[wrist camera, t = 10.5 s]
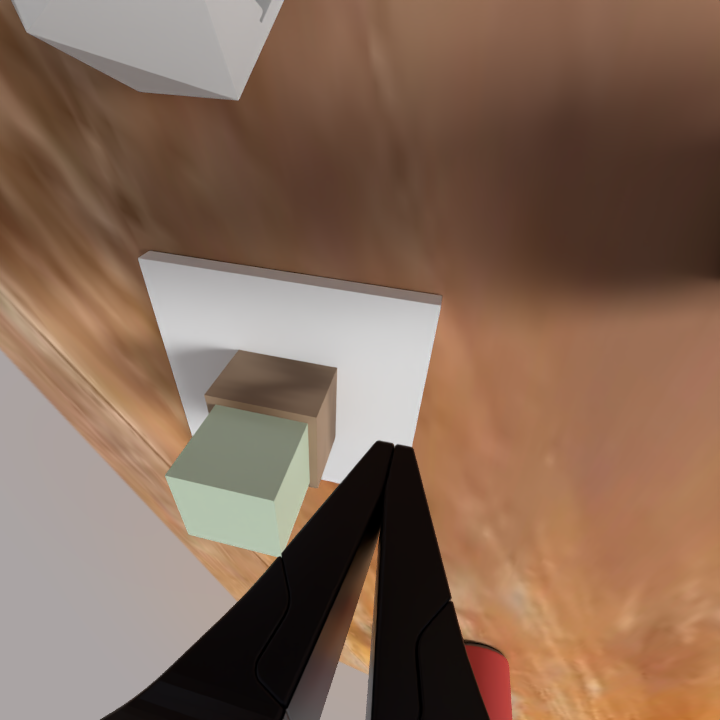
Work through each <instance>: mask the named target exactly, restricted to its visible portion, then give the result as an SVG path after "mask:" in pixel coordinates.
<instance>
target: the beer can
mask: <svg viewBox="0 0 720 720" xmlns="http://www.w3.org/2000/svg"><path fill="white" fill-rule="evenodd" d="M464 644H465V648H466V651H467V655H468V658H469V661H470V664H471V667H472V670H473V673H474V676H475V678H476V681H477V684H478V687H479V690H480V693H481V696H482V698H483V701H484V704H485V706H486V709H487V712H488V715H489V717H490V720H512V707H511V690H510V674H509V664H508V661H507V659H506V658H505V657H504V656H503V655H502V654H501V653H500V652H498V651H497V650H495V649H493V648H490V647H487V646H484V645H480V644H474V643H464Z"/></svg>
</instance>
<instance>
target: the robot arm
mask: <svg viewBox="0 0 720 720" xmlns="http://www.w3.org/2000/svg"><path fill="white" fill-rule="evenodd" d="M379 532H380V534H379ZM378 536H379V544H378V556H377V570H376V583H375V597H374V611H373V625H372V639H371V652H370V666H369V680H368V694H367V707H366V720H490V717H489V715H488V712H487V709H486V706H485V704H484V701H483V698H482V696H481V693H480V690H479V687H478V684H477V681H476V678H475V676H474V673H473V670H472V667H471V664H470V661H469V658H468V655H467V651H466V648H465V644H464V641H463V637H462V634H461V630H460V627H459V623H458V620H457V616H456V612H455V608H454V604H453V602H452V601H451V598H452V597H451V593H450V589H449V585H448V581H447V577H446V574H445V570H444V566H443V562H442V558H441V554H440V550H439V546H438V542H437V538H436V535H435V531H434V527H433V523H432V519H431V515H430V511H429V507H428V503H427V499H426V495H425V492H424V488H423V484H422V480H421V476H420V472H419V468H418V464H417V460H416V456H415V452H414V449H413V448H412V447H410V446H406V445H401V444H396V445H395V447H394V444H393V443H391V442H386V441H381V440H378V441H376V442H375V443H374V444H373V445H372V446H371V448H370V449H369V450H368V451H367V452H366V454H365V455H364V456H363V457H362V458H361V459H360V461H359V462H358V463H357V464H356V465H355V467H354V468H353V469H352V470H351V471H350V472H349V474H348V475H347V476H346V477H345V478H344V480H343V481H342V482H341V483H340V484H339V486H338V487H337V488H336V489H335V490H334V491H333V493H332V494H331V495H330V496H329V497H328V499H327V500H326V501H325V502H324V503H323V504H322V506H321V507H320V508H319V509H318V510H317V512H316V513H315V514H314V515H313V516H312V517H311V519H310V520H309V521H308V522H307V523H306V525H305V526H304V527H303V528H302V529H301V530H300V532H299V533H298V534H297V535H296V536H295V538H294V539H293V540H292V541H291V542H290V543H289V545H288V546H287V547H286V548H285V549H284V551H283V552H282V553H281V556H282V557H281V556H278V557H277V559H276V560H275V561H274V562H273V563H272V564H271V566H270V567H269V568H268V569H267V570H266V572H265V573H264V574H263V575H262V576H261V577H260V578H259V579H258V580H257V582H256V583H255V584H254V585H253V586H252V587H251V588H250V589H249V591H248V592H247V593H246V594H245V595H244V596H243V597H242V598H241V599H240V600H239V601H238V602H237V603H236V604H235V605H234V606H233V607H232V608H231V609H230V610H229V611H228V612H227V613H226V614H225V615H224V616H223V617H222V618H221V619H220V620H219V621H218V622H217V623H216V624H214V625H213V626H212V627H211V628H210V629H209V630H208V631H207V632H206V633H205V634H204V635H203V636H202V637H201V638H200V639H199V640H198V641H197V642H196V643H195V644H194V645H192V646H191V647H190V648H189V649H188V650H187V651H186V652H185V653H184V654H183V655H182V656H181V657H180V658H179V659H178V660H177V661H176V662H175V663H174V664H173V665H172V666H170V667H169V668H168V669H167V670H166V671H165V672H164V673H163V674H162V675H161V676H160V677H159V678H158V679H156V680H155V681H154V682H153V683H152V684H151V685H149V686H148V687H147V688H146V689H144V690H143V691H142V692H141V693H139V694H138V695H137V696H135V697H134V698H133V699H132V700H130V701H128V702H127V703H126V704H124V705H123V706H121V707H120V708H118V709H116V710H115V711H113V712H112V713H110V714H108V715H107V716H105V717H103V718H102V719H100V720H320V717H321V714H322V710H323V707H324V704H325V701H326V698H327V695H328V692H329V689H330V686H331V683H332V680H333V677H334V674H335V670H336V667H337V664H338V661H339V658H340V655H341V652H342V649H343V646H344V643H345V640H346V637H347V633H348V630H349V627H350V624H351V621H352V618H353V615H354V612H355V609H356V606H357V603H358V599H359V596H360V593H361V590H362V587H363V584H364V581H365V578H366V575H367V572H368V569H369V566H370V562H371V559H372V556H373V553H374V550H375V547H376V543H377V540H378Z"/></svg>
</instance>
